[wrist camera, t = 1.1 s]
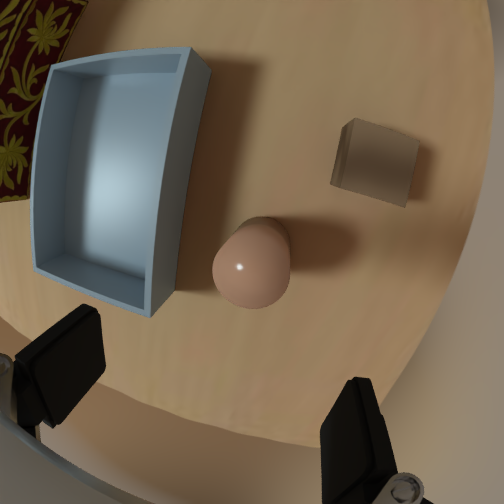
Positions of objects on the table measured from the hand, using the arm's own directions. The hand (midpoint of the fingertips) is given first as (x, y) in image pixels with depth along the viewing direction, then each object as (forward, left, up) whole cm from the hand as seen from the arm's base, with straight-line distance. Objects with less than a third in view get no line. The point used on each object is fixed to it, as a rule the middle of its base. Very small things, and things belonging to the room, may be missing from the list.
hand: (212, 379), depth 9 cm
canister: (0, 0, -16) cm, 16 cm away
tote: (-4, -15, -16) cm, 23 cm away
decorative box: (-14, -38, -17) cm, 44 cm away
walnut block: (-9, +7, -17) cm, 20 cm away
